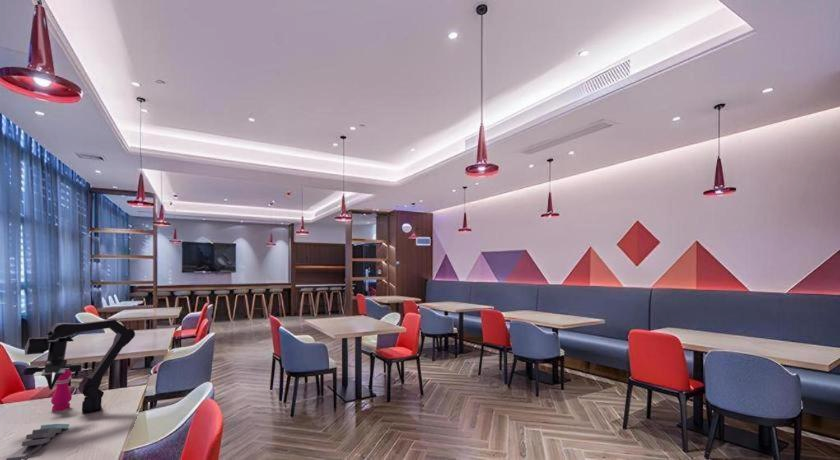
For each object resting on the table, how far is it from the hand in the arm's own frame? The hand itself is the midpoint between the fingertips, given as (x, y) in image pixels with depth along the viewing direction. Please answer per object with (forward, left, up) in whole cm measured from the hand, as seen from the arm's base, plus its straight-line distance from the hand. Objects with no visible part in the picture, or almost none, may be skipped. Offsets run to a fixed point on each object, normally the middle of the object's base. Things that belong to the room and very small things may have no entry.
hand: (50, 389), depth 173 cm
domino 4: (-3, +18, -13) cm, 22 cm away
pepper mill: (-2, -16, -14) cm, 21 cm away
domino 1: (+1, +31, -13) cm, 33 cm away
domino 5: (-5, +14, -13) cm, 20 cm away
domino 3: (-1, +27, -13) cm, 29 cm away
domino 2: (-2, +22, -13) cm, 26 cm away
